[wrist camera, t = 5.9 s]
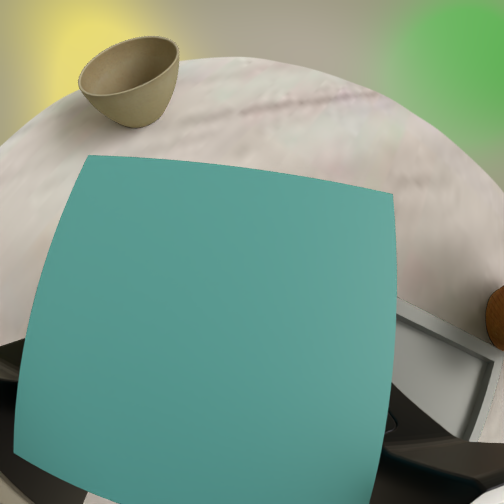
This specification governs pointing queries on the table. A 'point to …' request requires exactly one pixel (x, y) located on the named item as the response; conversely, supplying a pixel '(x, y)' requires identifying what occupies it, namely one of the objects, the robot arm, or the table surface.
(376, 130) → the table surface
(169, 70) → the flower pot
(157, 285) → the teal block
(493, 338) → the disposable coffee cup
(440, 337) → the tray
